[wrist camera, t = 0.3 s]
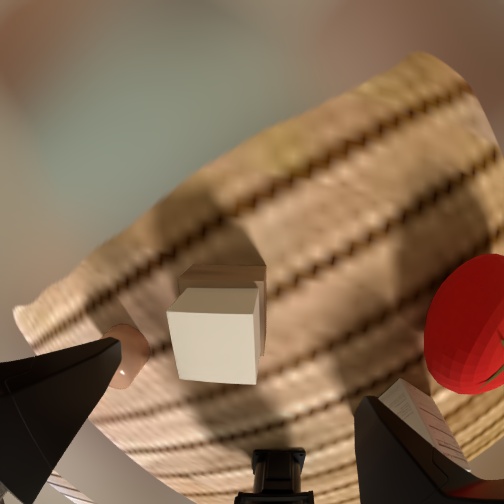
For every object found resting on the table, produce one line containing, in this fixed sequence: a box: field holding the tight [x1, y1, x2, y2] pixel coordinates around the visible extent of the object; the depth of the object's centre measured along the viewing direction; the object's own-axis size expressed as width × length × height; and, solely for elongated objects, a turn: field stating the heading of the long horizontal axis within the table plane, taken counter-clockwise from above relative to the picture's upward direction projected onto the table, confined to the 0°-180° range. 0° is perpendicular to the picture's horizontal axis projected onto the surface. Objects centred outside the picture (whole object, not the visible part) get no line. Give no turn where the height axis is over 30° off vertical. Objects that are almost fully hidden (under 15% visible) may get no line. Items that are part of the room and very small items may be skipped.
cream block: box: [166, 288, 261, 385], centre depth 17 cm, size 5×5×4 cm
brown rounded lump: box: [99, 324, 150, 389], centre depth 23 cm, size 5×5×4 cm
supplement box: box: [378, 378, 471, 472], centre depth 18 cm, size 7×7×13 cm
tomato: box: [424, 254, 504, 395], centre depth 16 cm, size 11×12×10 cm
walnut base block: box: [178, 265, 266, 356], centre depth 21 cm, size 6×6×4 cm
